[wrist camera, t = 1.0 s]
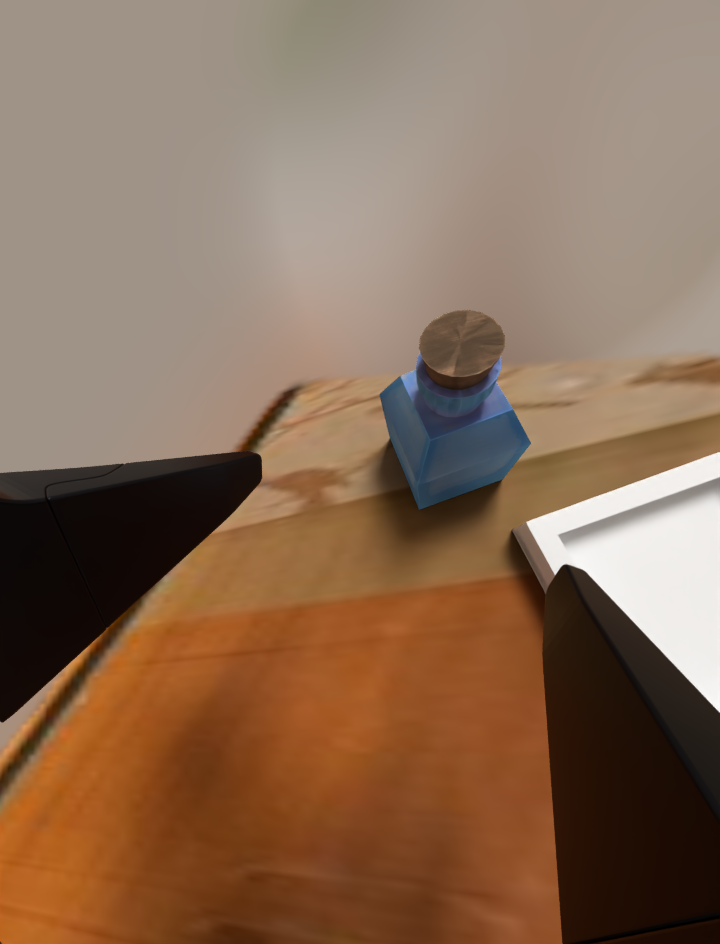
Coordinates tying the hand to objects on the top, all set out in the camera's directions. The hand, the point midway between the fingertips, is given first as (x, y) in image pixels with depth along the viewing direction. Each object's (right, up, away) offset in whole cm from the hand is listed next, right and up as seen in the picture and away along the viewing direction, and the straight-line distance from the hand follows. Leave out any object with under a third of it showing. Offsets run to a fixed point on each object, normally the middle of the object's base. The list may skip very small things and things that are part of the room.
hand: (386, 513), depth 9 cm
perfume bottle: (+5, +2, +14) cm, 15 cm away
